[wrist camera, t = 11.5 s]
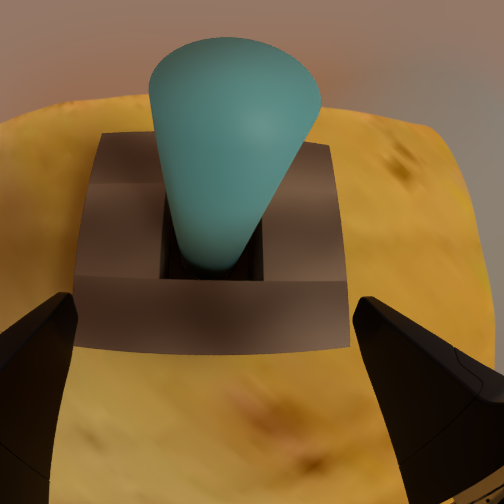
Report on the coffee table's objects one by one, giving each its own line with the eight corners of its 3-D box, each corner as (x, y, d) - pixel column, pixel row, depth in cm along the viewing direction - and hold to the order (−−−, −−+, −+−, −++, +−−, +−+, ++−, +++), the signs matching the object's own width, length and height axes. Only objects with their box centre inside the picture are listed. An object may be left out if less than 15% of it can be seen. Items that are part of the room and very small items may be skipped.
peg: (197, 291, 18) (189, 178, 4) (172, 241, 18) (130, 59, 5) (247, 265, 19) (352, 122, 5) (221, 218, 19) (266, 30, 6)
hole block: (317, 344, 18) (350, 346, 14) (100, 342, 16) (71, 345, 11) (305, 178, 21) (329, 145, 17) (117, 170, 19) (102, 133, 15)
